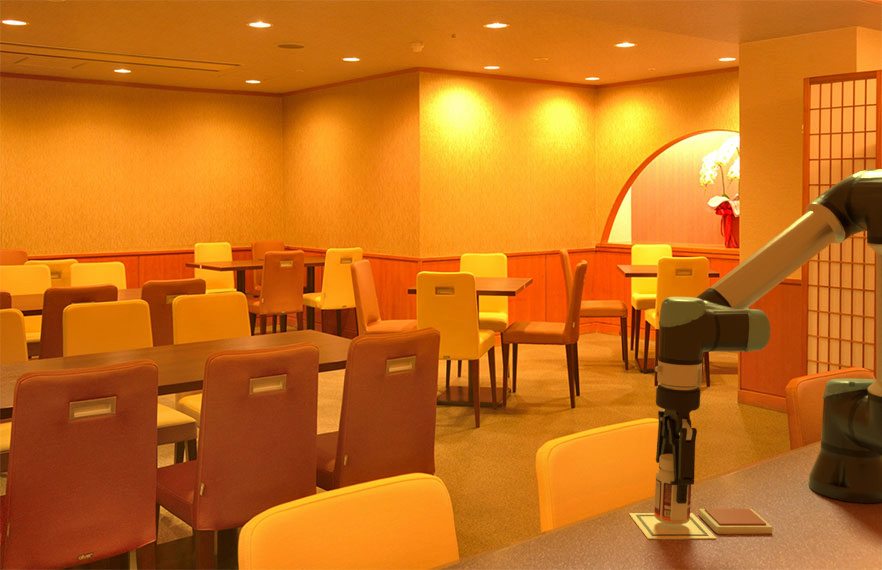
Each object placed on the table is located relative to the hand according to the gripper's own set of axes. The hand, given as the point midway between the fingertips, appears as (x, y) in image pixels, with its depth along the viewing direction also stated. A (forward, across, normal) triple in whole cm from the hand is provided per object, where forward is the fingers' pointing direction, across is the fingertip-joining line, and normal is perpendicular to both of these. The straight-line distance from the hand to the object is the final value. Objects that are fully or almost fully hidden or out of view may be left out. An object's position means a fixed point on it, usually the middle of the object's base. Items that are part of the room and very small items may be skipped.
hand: (672, 512), depth 161 cm
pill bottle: (+2, 0, 0) cm, 2 cm away
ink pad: (+3, -1, +12) cm, 12 cm away
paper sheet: (+3, 0, 0) cm, 3 cm away
